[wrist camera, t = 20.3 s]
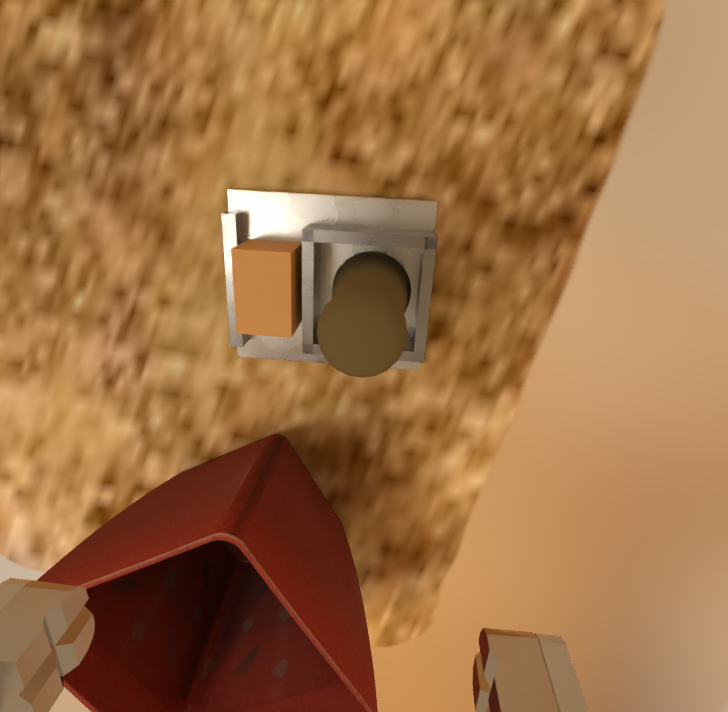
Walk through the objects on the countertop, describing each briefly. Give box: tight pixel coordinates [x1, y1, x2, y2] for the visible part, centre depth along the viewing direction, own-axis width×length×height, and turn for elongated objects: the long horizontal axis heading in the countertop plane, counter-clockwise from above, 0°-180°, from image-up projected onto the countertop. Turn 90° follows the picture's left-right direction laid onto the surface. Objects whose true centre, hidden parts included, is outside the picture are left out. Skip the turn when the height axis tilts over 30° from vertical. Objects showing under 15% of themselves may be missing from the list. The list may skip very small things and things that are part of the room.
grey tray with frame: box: [221, 188, 438, 370], centre depth 34 cm, size 15×13×4 cm
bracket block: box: [231, 240, 302, 338], centre depth 33 cm, size 4×6×4 cm, turn 177°
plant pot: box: [37, 435, 378, 712], centre depth 38 cm, size 19×19×17 cm
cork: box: [317, 251, 411, 377], centre depth 30 cm, size 6×6×11 cm
